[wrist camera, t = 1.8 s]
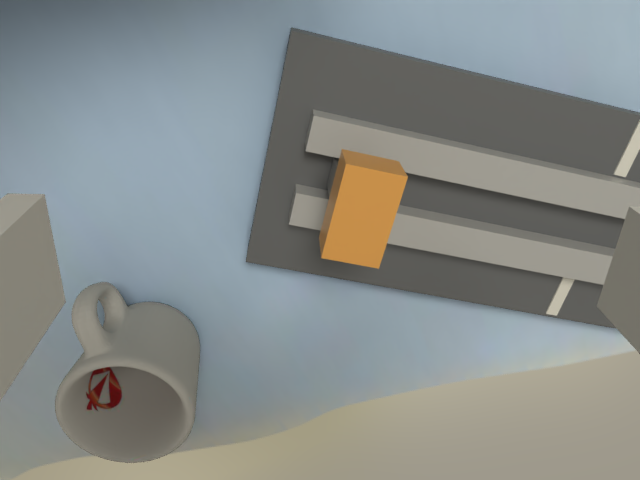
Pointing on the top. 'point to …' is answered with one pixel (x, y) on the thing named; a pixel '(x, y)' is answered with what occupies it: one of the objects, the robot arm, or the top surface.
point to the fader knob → (360, 208)
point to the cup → (129, 378)
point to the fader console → (451, 178)
